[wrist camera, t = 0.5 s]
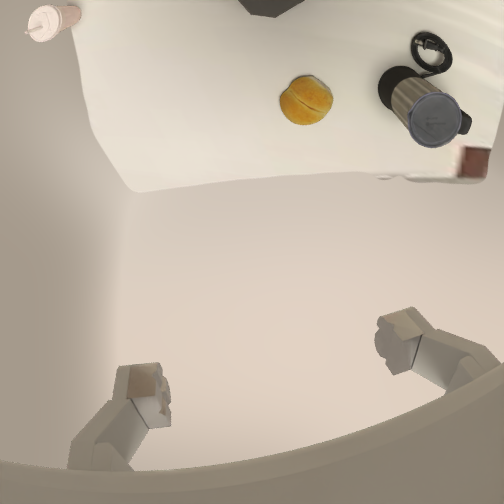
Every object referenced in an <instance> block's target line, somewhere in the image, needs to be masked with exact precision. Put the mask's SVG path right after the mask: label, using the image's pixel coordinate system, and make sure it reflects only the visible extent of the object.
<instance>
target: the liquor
mask: <svg viewBox="0 0 504 504" xmlns="http://www.w3.org/2000/svg"><path fill="white" fill-rule="evenodd" d="M238 1H239V2H240V3H241V4H242V5H243V6H244V7H245V8H246V10H247V11H248V12H249V13H250V14H251V15H259V16H267V17H273V18H276V17H277V16H279V15H281V14H282V13H284V12H286V11H287V10H289V9H291V8H292V7H294V6H296V5H297V4H299V3H301V2H303V1H304V0H238Z"/></svg>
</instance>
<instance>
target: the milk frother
mask: <svg viewBox="0 0 504 504" xmlns="http://www.w3.org/2000/svg"><path fill="white" fill-rule="evenodd" d="M427 39H430V40H432V41H434V42H436V43H432V42H430V41H428V40H427ZM418 45H422V46H423V49H424V50H425V49H426V48H427V49H432V50H435V51H437V50H438V51H440V52H442V53H443V54H444V57H445V59H444V62H443V63H442V64H441V65H439V66H430V65H428V64H427V63H425V62H424V61H423V60H422V59H421V57H420V56H419V54H418ZM438 45H439V46H438ZM412 55H413V57H414V59H415V61H416V62H417V63H418V64H419V65H420V66H421V67H422V68H423V69H425V70H427V71H430V72H433V73H430V74H425V75H422V76H419V74H418V73H417V72H416V71H414V70H413V69H411V68H409V67H405V66H397V67H393V68H391V69H389V70H387V71H386V72H385V73H384V74H383V76H382V77H381V79H380V81H379V85H378V93H379V97H380V99H381V101H382V103H383V104H384V105H385V106H386V107H387V108H388V109H390V110H392V111H393V112H394V114H395V115H396V116H397V117H398V118H399V120H400V121H401V122H402V123H403V124H404V126H405V127H406V128H407V129H408V130H409V132H410V135H411V136H412V138H413V139H414V140H415V141H416V142H417V143H418V144H419V145H421V146H424V147H428V148H437V147H441V146H443V145H446V144H448V143H449V142H450V141H451V140H452V139H454V137H455V136H456V135H457V134H462V135H465V134H467V133H468V131H469V129H470V127H471V123H472V118H471V117H470V116H469V115H468V114H466V113H465V112H464V111H462V110H461V109H460V107H459V105H458V103H457V102H456V100H455V99H454V98H453V97H451V96H450V95H448V94H446V93H443V92H441V91H440V90H439V89H437V88H436V87H434V86H433V85H432V84H430V83H429V82H427V81H426V80H424V78H426V77H429V76H433V75H436V74H440V73H443V72H445V71H447V70H448V69H449V68H450V67H451V65H452V60H453V59H452V54H451V51H450V49H449V48H448V46H447V44H446V43H445V42H444V41H443V40H442V39H441V38H440V37H438V36H436V35H435V34H432V33H420V34H418V35H417V36H416V37H415V38H414V40H413V42H412Z"/></svg>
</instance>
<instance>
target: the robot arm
mask: <svg viewBox="0 0 504 504" xmlns="http://www.w3.org/2000/svg"><path fill="white" fill-rule="evenodd" d="M377 325H378V327H379V330H378V331H377V332H376V334H375V346H376V350H377V352H378V353H379V355H380V356H381V357H383V358H385V359H386V365H387V367H388V368H389V370H390V371H391V373H392V374H393V375H396V374H399V373H402V372H405V371H408V370H410V369H412V371H414V372H416V373H417V374H419V375H421V376H422V377H424V378H426V379H428V380H429V381H431V382H433V383H435V384H437V385H438V386H440V387H442V388H443V389H445V390H446V393H445V394H444V396H442V397H441V398H438V399H436V400H434V401H432V402H429V403H427V404H425V405H423V406H421V407H418V408H416V409H414V410H412V411H409V412H407V413H404V414H402V415H400V416H397V417H395V418H392V419H390V420H387V421H385V422H382V423H379V424H377V425H374V426H371V427H368V428H366V429H363V430H360V431H357V432H354V433H351V434H348V435H345V436H342V437H339V438H336V439H332V440H329V441H325V442H322V443H318V444H315V445H311V446H308V447H303V448H300V449H296V450H292V451H288V452H283V453H279V454H274V455H270V456H265V457H260V458H255V459H249V460H243V461H238V462H231V463H225V464H218V465H211V466H202V467H194V468H185V469H172V470H155V471H134V470H133V469H132V468H131V467H130V466H129V464H128V463H129V462H130V460H131V459H132V457H133V455H134V454H135V452H136V450H137V449H138V447H139V446H140V444H141V442H142V441H143V439H144V437H145V436H146V434H147V433H148V431H149V429H153V428H162V427H170V426H171V411H170V409H169V407H168V405H169V404H170V402H171V396H170V389H169V385H168V382H167V379H166V378H165V377H164V376H162V367H161V365H160V363H158V362H156V363H146V364H135V365H128V366H127V365H126V366H119V367H118V369H117V373H116V379H115V384H114V390H113V397H112V400H109V401H107V403H106V404H105V405H104V406H103V407H102V408H101V409H100V410H99V411H98V412H97V414H96V415H95V416H94V417H93V418H92V419H91V420H90V421H89V422H88V424H87V425H86V426H85V427H84V428H83V429H82V430H81V431H80V432H79V433H78V435H77V436H76V437H75V438H74V439H73V440H72V441H71V446H70V452H69V458H68V464H67V469H58V468H49V467H39V466H32V465H26V464H20V463H14V462H8V461H3V460H0V504H504V363H502V364H501V363H500V362H499V361H498V360H497V358H496V357H495V356H494V355H493V354H492V353H491V352H490V351H489V350H488V349H487V348H486V347H485V346H483V345H480V344H477V343H475V342H472V341H470V340H467V339H464V338H462V337H459V336H456V335H453V334H451V333H448V332H445V331H442V330H440V329H437V330H435V329H434V328H433V327H432V326H431V325H430V323H429V322H428V321H427V320H426V319H425V318H424V317H423V316H422V315H421V314H420V313H419V312H418V311H417V309H415V308H414V307H409V308H406V309H403V310H401V311H397V312H394V313H390V314H387V315H384V316H380V317H379V319H378V321H377Z"/></svg>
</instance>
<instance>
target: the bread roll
mask: <svg viewBox="0 0 504 504" xmlns="http://www.w3.org/2000/svg"><path fill="white" fill-rule="evenodd" d="M332 103H333V96H332V93H331V91H330V89H329V88H328V87H327V86H326V85H325V84H324V83H322V82H321V81H319V80H318V79H316V78H315V77H313V76H308V77H300V78H298V79H296V80H295V81H293V82H292V84H291V85H290V87H289V88H288V89H287V90H286V91H285V92H284V93H283V94H282V95H281V97H280V106H281V110H282V112H283V113H284V115H285V116H286V118H287V119H289V120H290V121H291V122H293V123H295V124H299V125H310V124H313V123H316V122H318V121H320V120H321V119H323V118H324V116H325V115H326V114H327V113H328V111H329V110H330V109H331V106H332Z"/></svg>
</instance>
